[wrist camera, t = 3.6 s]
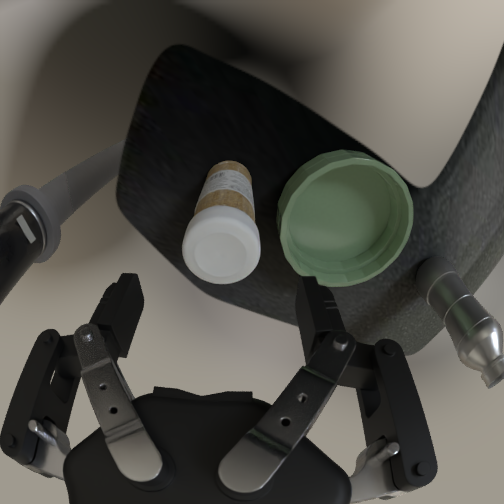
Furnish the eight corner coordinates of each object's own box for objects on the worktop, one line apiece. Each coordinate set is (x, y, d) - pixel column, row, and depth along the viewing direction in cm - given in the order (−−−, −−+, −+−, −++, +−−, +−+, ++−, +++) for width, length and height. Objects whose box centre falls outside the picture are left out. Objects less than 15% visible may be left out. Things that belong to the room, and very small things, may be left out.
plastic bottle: (411, 294, 36) (471, 403, 20) (408, 261, 33) (485, 381, 16) (445, 276, 35) (511, 375, 18) (444, 242, 32) (528, 347, 15)
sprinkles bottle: (216, 207, 28) (200, 294, 17) (199, 168, 26) (166, 234, 15) (258, 193, 28) (270, 275, 16) (243, 152, 25) (245, 207, 14)
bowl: (272, 266, 33) (275, 288, 29) (280, 143, 25) (286, 151, 22) (380, 265, 33) (392, 284, 30) (406, 158, 26) (426, 169, 22)
